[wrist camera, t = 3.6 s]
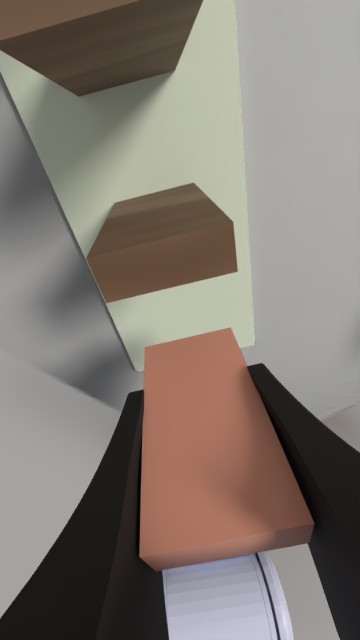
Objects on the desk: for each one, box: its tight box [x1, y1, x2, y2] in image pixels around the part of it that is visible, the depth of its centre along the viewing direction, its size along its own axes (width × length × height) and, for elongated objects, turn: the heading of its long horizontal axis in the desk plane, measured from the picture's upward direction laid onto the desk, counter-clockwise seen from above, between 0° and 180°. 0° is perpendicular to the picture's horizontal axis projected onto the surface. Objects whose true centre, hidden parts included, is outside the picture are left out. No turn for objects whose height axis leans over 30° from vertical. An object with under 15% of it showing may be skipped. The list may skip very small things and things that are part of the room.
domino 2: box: [86, 183, 238, 303], centre depth 11 cm, size 2×4×8 cm, turn 102°
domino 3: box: [139, 327, 314, 572], centre depth 10 cm, size 2×4×8 cm, turn 103°
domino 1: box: [0, 0, 203, 97], centre depth 8 cm, size 2×4×8 cm, turn 102°
